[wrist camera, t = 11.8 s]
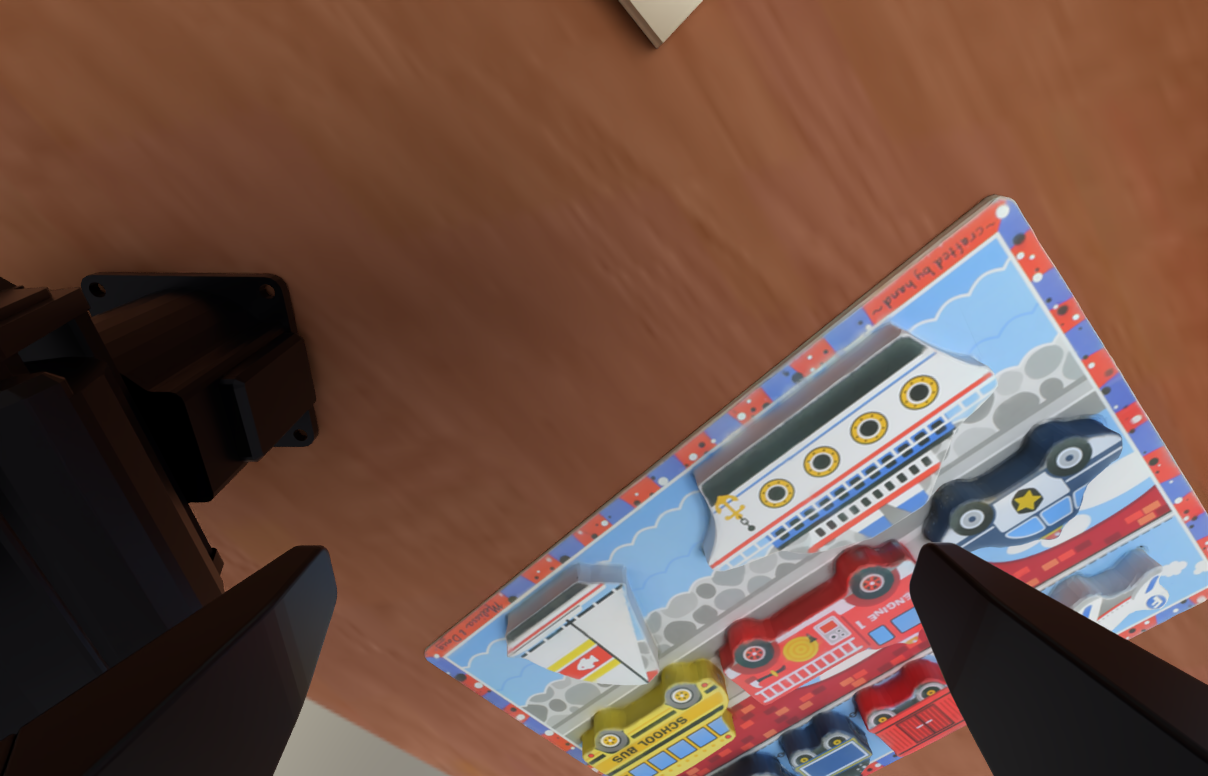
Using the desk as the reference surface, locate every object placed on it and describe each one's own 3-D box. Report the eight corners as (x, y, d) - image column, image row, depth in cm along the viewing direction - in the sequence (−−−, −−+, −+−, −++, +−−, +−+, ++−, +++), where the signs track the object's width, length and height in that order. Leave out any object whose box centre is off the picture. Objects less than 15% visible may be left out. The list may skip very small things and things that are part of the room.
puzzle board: (985, 184, 20) (1040, 193, 17) (1214, 553, 27) (1275, 595, 25) (420, 640, 28) (405, 689, 26) (715, 828, 36) (725, 879, 33)
